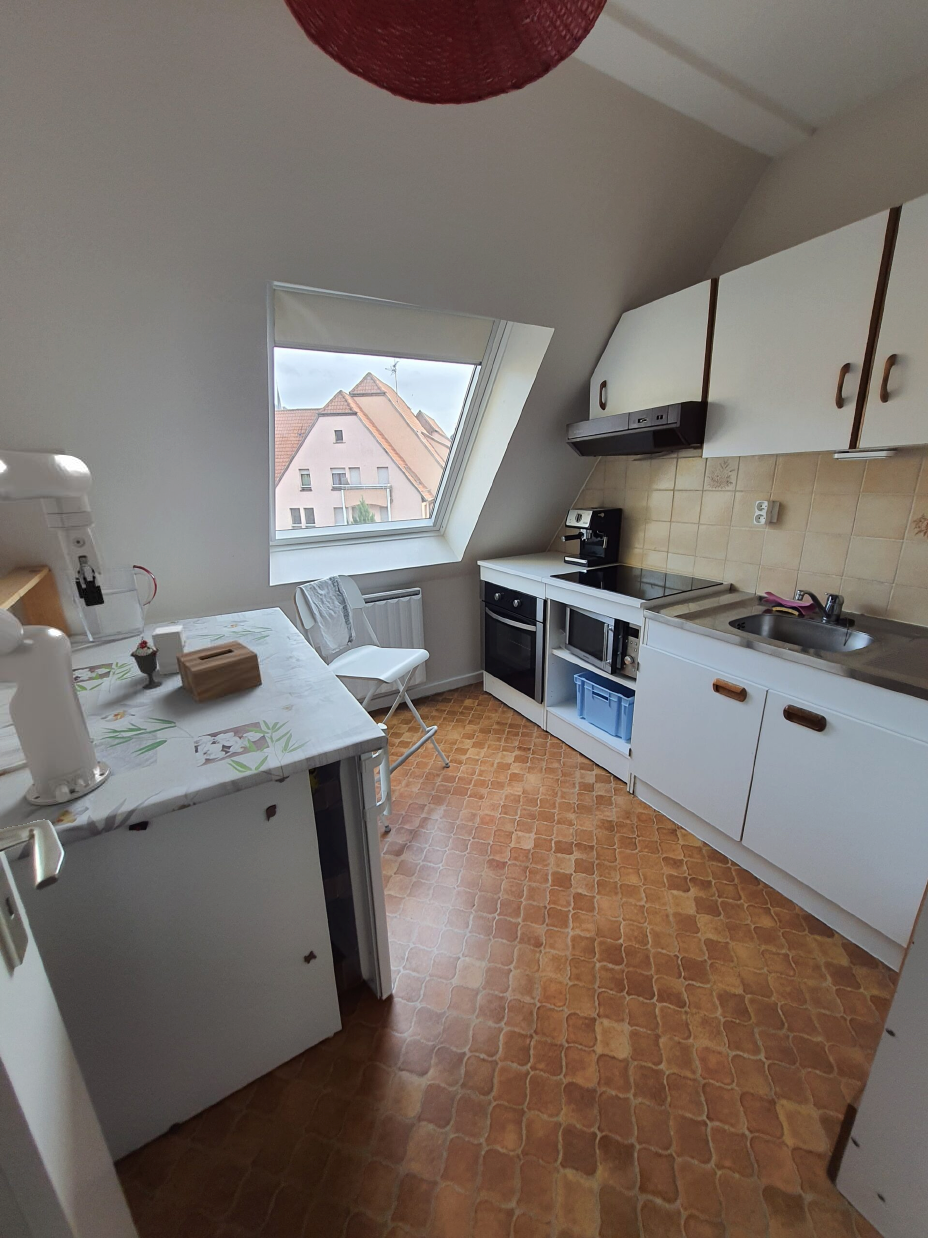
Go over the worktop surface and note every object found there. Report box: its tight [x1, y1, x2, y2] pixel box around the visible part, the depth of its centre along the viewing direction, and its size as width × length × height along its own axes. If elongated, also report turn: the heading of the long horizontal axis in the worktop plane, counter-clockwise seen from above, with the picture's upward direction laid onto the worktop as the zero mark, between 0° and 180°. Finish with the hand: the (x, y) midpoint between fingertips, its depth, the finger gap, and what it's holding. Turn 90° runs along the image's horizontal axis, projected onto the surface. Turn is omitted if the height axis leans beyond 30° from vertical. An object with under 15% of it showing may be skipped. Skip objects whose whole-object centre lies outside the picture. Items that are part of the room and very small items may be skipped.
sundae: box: [129, 636, 164, 690], centre depth 132 cm, size 7×7×15 cm
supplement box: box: [151, 624, 189, 675], centre depth 144 cm, size 7×7×13 cm
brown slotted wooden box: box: [176, 640, 263, 704], centre depth 132 cm, size 16×16×9 cm
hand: (91, 601), depth 104 cm, fingers open, 9 cm apart
